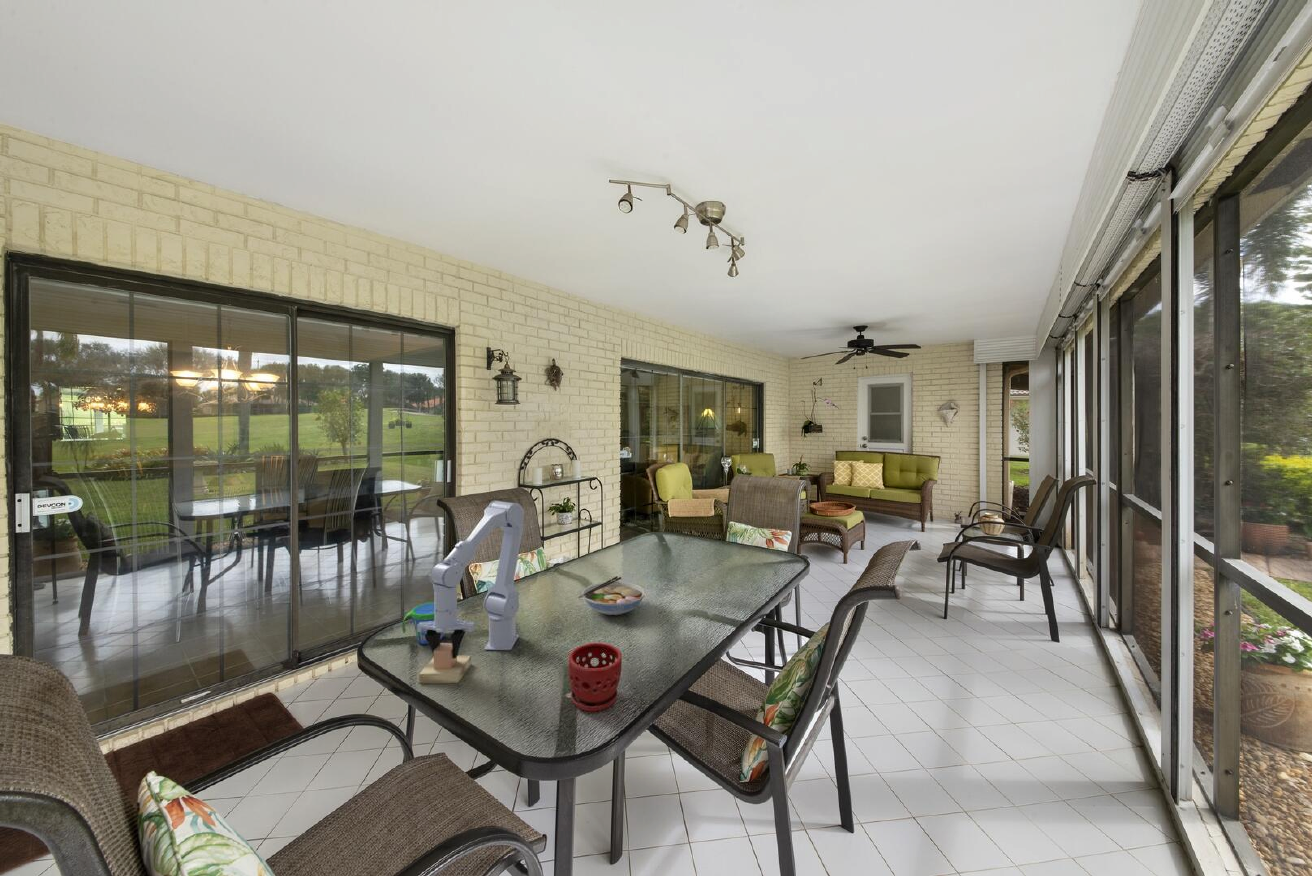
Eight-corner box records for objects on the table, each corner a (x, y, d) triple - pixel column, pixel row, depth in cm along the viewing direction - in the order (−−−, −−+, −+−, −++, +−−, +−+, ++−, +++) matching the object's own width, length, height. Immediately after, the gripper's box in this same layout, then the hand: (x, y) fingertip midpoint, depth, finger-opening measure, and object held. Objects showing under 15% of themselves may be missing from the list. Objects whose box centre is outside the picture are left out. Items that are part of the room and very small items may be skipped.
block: (440, 660, 136) (440, 643, 136) (457, 660, 136) (457, 643, 136) (433, 669, 131) (433, 650, 131) (450, 669, 132) (450, 650, 131)
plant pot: (557, 705, 120) (557, 657, 120) (592, 681, 131) (592, 637, 131) (597, 724, 113) (598, 673, 112) (631, 697, 124) (632, 651, 123)
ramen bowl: (619, 631, 161) (619, 607, 161) (566, 616, 173) (566, 593, 173) (658, 607, 183) (658, 585, 182) (609, 594, 195) (609, 574, 194)
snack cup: (398, 650, 147) (398, 616, 146) (407, 634, 157) (406, 603, 157) (454, 644, 151) (454, 612, 150) (459, 630, 161) (459, 599, 160)
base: (435, 663, 139) (435, 655, 139) (471, 663, 139) (471, 655, 139) (419, 683, 129) (419, 673, 129) (457, 683, 129) (457, 673, 129)
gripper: (411, 613, 129) (412, 663, 130) (467, 613, 130) (467, 664, 130) (423, 603, 136) (424, 651, 137) (476, 603, 137) (476, 651, 137)
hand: (446, 656), depth 134 cm, fingers closed on block, 4 cm apart
